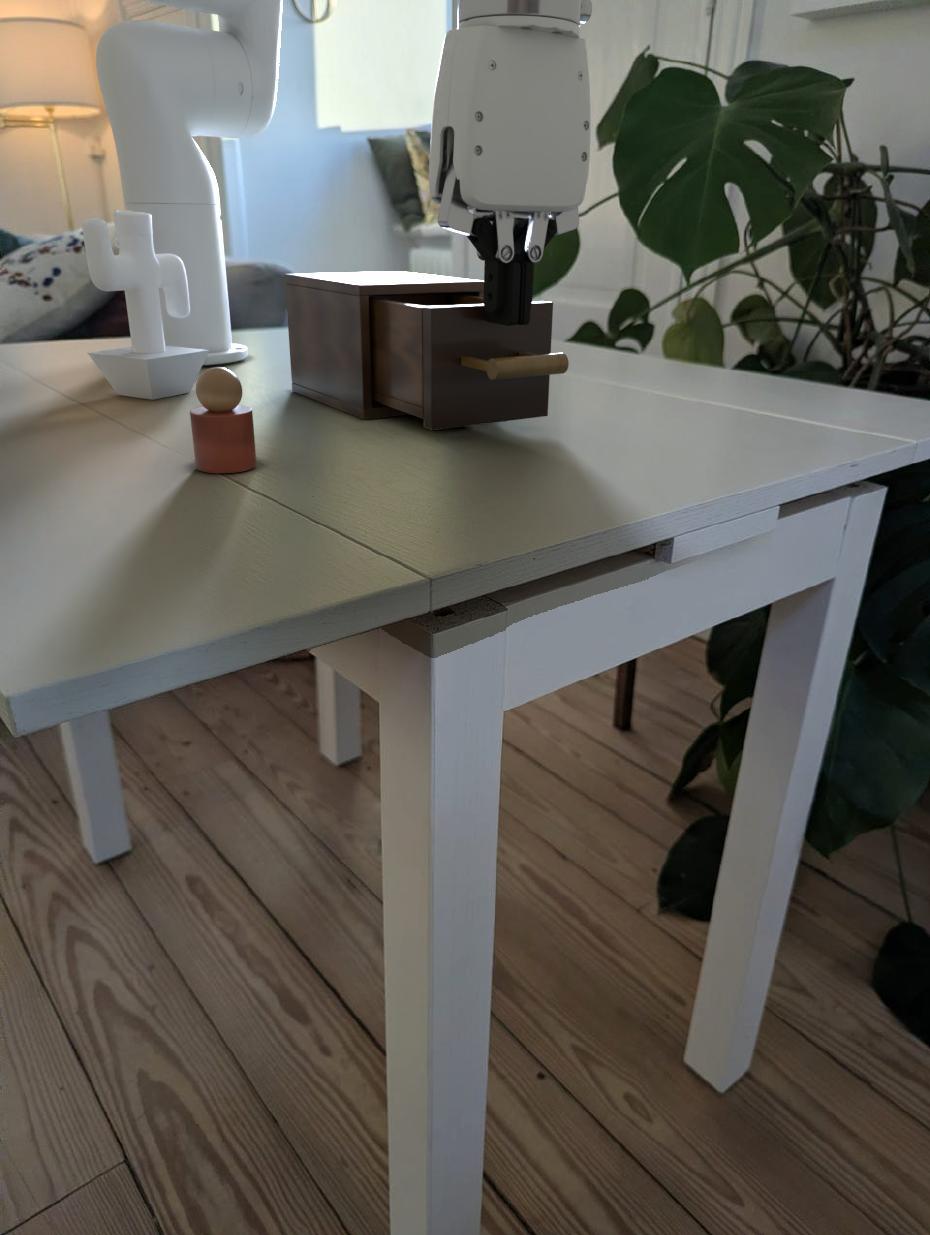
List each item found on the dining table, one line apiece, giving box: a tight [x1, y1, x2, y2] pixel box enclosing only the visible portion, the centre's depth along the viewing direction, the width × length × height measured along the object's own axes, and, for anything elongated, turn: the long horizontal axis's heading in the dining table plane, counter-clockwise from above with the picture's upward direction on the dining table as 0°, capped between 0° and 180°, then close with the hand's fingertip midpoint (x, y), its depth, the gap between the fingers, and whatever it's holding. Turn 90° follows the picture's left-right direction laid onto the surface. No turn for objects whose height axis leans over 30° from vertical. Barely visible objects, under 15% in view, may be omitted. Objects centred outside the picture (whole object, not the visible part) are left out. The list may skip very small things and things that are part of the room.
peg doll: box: [189, 366, 258, 475], centre depth 57 cm, size 4×4×6 cm
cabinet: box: [284, 270, 484, 421], centre depth 78 cm, size 15×12×10 cm
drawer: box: [369, 293, 570, 431], centre depth 69 cm, size 18×10×8 cm, turn 33°
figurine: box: [81, 209, 209, 401], centre depth 78 cm, size 7×9×15 cm
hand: (506, 322), depth 63 cm, fingers closed
